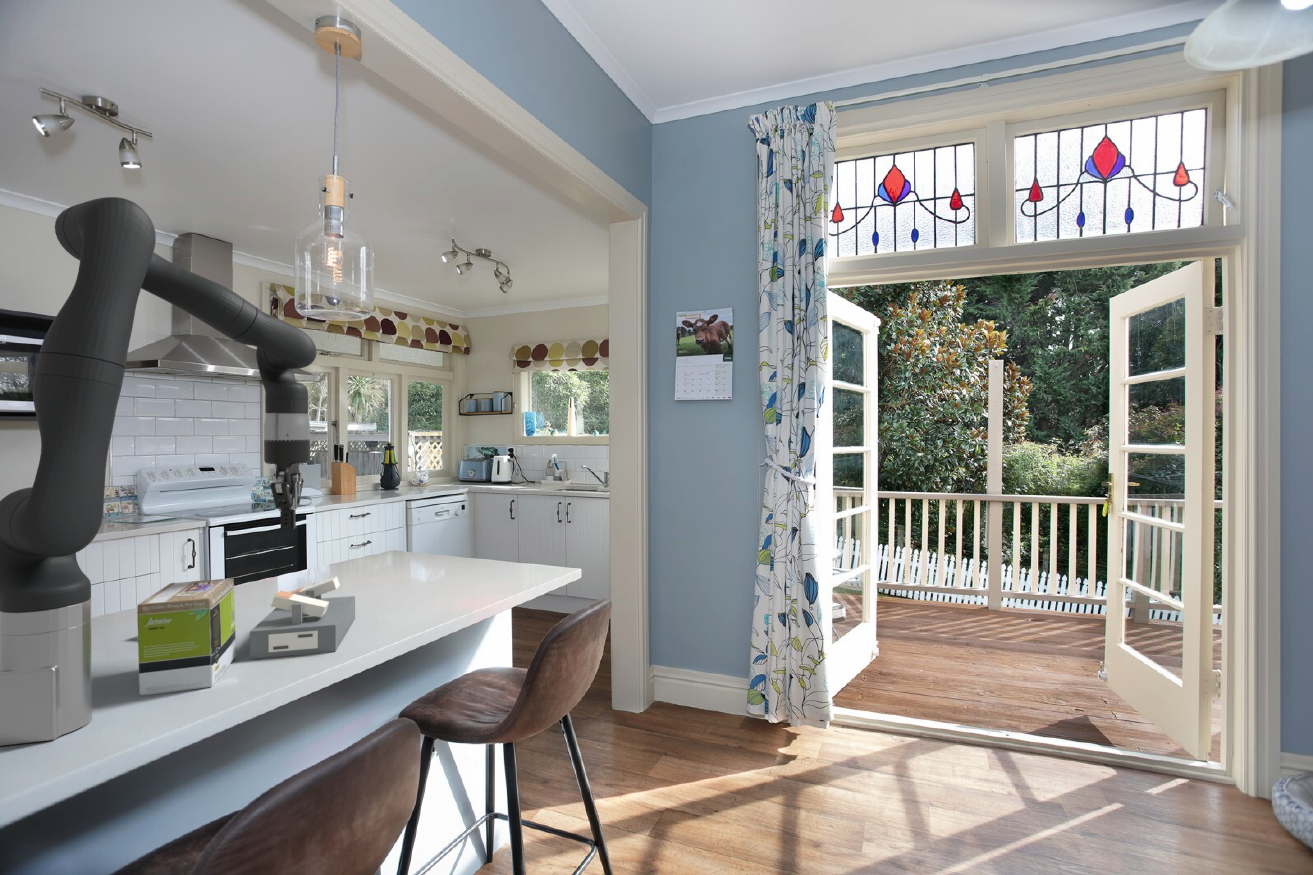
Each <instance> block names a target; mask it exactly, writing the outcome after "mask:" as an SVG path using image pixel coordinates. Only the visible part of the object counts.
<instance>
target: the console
mask: <svg viewBox="0 0 1313 875" xmlns="http://www.w3.org/2000/svg"><path fill="white" fill-rule="evenodd" d="M316 583H317V582H316ZM316 583H312V584H311V585H313V584H316ZM322 596H323V594H322V595H319V596H316V597H315V590H306V596H305V597H309V598H314V599H318V600H323V601H327V602H329V605H328V608H327V610H326V613H325V614H324V615H323V616H322V617H317V616H312V615H308V614H303V613H302V603H296V604H292V611H289V610H285V609H280V608H276V607H274V609H273V610H272V611H271V612H269V614H267V616H265V617H264V618H263V619H261V621H260V622H258V624H256V625H255V626H254V627H253V628H252V629H251V630H250V631H249V659H250V660H255V659H267V658H277V657H280V658H281V657H289V656H301V655H312V654H313V655H314V654H324V653H335V652H337V650H338V649H339V647H340V645H341V644H342V642H343V640H344V638H345V637H346V635H347V634H348V632H349V630H350V628H351V626H352V625H353V624H354V621H355V620H356V596H355V595H351V596H350V595H349V596H338V597H324V598H323V597H322Z"/></svg>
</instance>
